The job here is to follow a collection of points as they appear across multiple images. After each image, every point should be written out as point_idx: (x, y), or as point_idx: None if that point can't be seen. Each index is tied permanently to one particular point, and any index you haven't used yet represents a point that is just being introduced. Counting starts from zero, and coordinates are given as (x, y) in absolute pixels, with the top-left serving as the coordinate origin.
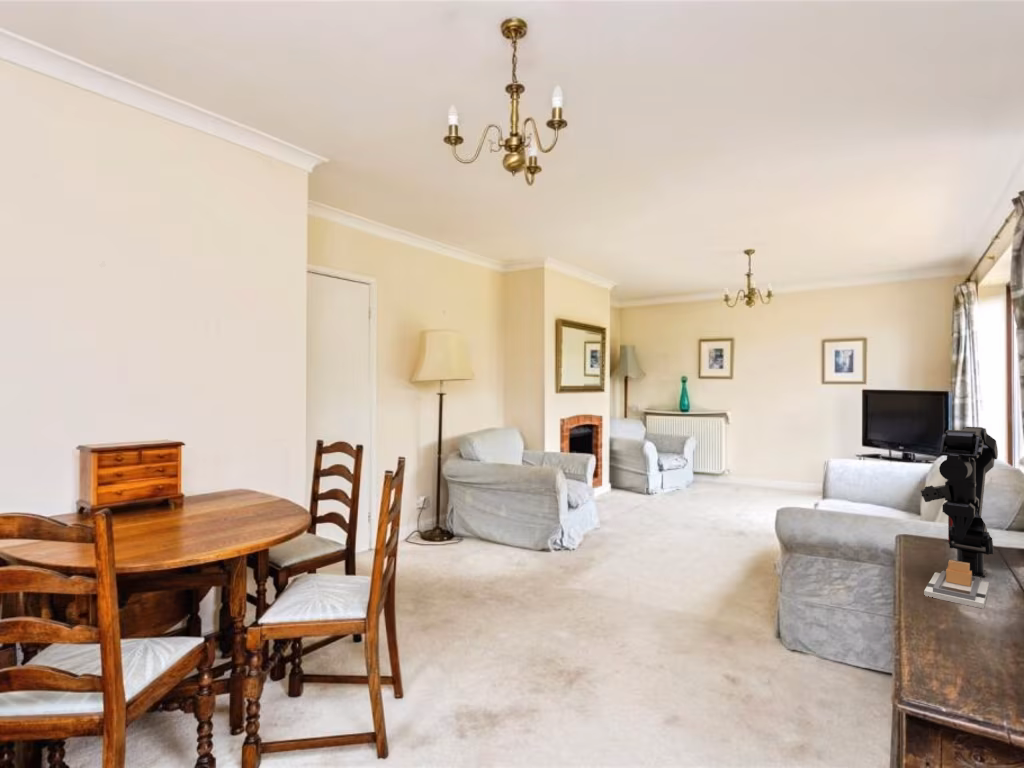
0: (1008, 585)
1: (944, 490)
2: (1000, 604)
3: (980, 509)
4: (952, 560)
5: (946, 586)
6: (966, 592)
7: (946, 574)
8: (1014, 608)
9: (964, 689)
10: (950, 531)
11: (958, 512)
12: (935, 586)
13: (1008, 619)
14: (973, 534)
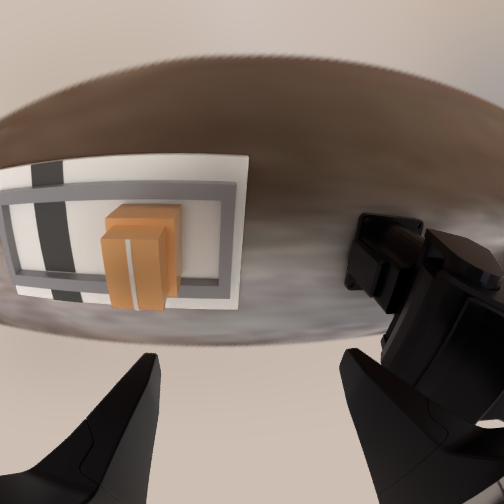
0: (299, 332)
1: None
2: (85, 318)
3: None
4: (147, 251)
5: (71, 210)
6: (56, 262)
7: (112, 213)
8: (84, 337)
9: None
10: (465, 271)
11: None
12: (5, 196)
13: (12, 319)
14: (411, 366)
